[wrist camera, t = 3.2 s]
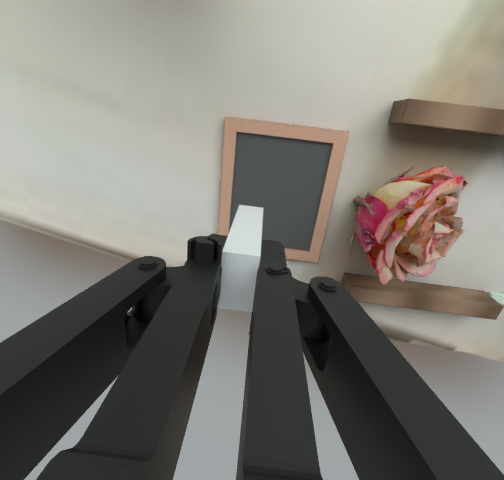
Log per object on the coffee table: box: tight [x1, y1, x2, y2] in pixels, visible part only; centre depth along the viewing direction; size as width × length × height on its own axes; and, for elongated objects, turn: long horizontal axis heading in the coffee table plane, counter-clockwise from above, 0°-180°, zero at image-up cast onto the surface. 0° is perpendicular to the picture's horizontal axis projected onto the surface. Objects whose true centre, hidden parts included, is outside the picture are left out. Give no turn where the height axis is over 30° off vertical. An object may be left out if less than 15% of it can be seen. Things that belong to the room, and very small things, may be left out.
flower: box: [348, 165, 467, 285], centre depth 21 cm, size 10×9×8 cm
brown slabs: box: [341, 99, 504, 320], centre depth 23 cm, size 14×17×2 cm
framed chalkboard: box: [218, 117, 349, 263], centre depth 24 cm, size 10×12×1 cm
